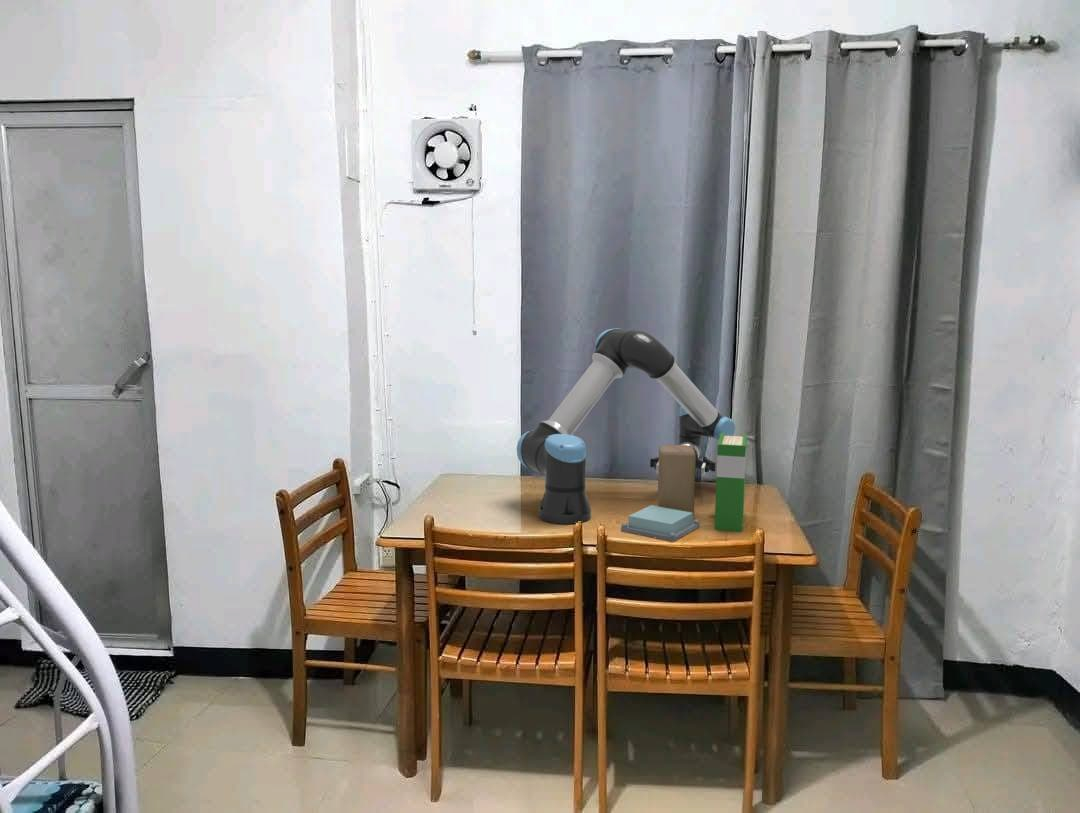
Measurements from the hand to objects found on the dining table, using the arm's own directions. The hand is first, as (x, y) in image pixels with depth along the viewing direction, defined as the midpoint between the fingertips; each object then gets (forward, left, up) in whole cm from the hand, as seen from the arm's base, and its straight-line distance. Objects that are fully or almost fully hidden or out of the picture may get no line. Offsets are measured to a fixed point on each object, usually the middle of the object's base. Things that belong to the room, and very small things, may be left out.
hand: (679, 470), depth 242 cm
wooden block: (+3, -9, -11) cm, 15 cm away
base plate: (+6, -24, -11) cm, 27 cm away
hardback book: (+19, -6, -11) cm, 23 cm away
